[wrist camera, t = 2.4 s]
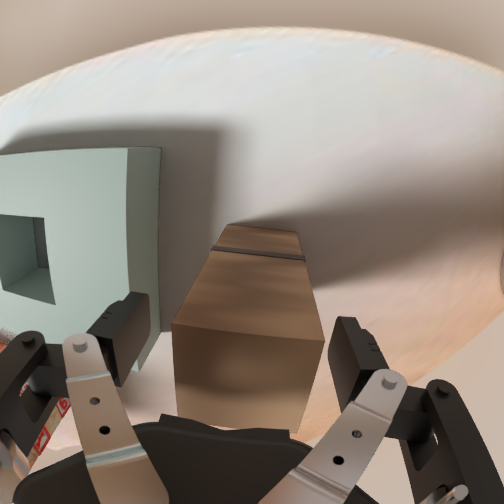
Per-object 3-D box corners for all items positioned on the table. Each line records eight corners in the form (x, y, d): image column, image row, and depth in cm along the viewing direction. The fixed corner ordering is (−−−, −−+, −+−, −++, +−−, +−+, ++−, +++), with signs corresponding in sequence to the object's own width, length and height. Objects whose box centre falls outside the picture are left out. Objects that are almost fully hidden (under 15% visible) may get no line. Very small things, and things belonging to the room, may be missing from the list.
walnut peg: (297, 231, 20) (327, 339, 8) (287, 294, 21) (297, 434, 10) (226, 223, 20) (169, 321, 9) (222, 287, 21) (176, 419, 10)
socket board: (161, 147, 19) (127, 148, 14) (160, 332, 23) (138, 372, 18) (-9, 156, 19) (-47, 163, 14) (7, 294, 24) (-23, 317, 19)
